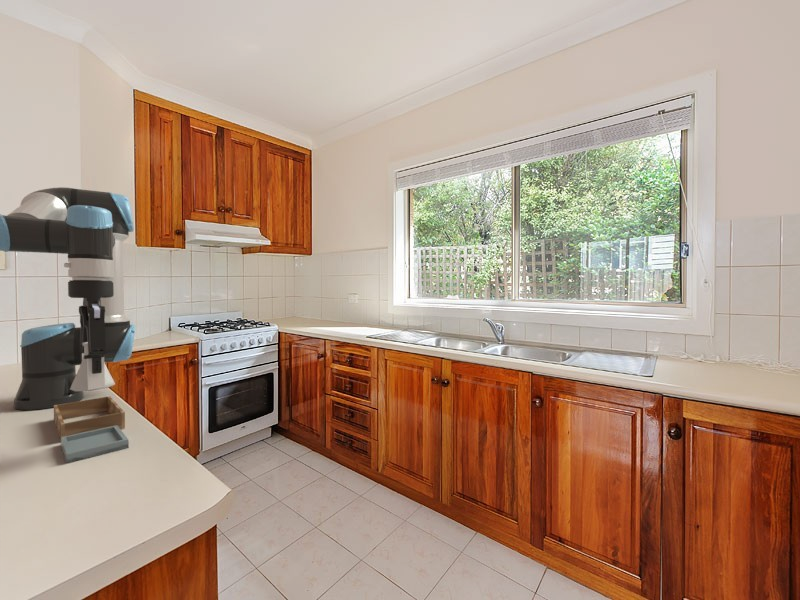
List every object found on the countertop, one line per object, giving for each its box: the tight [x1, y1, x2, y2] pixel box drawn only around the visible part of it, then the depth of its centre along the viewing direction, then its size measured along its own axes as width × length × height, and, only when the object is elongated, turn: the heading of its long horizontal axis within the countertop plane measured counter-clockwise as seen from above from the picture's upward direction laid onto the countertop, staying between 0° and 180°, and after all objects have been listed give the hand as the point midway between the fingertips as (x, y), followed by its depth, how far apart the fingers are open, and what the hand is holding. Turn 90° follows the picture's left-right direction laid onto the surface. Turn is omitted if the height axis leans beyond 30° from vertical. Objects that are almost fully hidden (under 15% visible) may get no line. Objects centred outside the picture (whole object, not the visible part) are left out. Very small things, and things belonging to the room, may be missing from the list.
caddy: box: [53, 395, 126, 440], centre depth 93 cm, size 19×12×4 cm, turn 47°
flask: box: [70, 342, 116, 392], centre depth 80 cm, size 7×7×10 cm
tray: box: [60, 425, 129, 464], centre depth 81 cm, size 12×10×2 cm
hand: (93, 384), depth 80 cm, fingers closed on flask, 7 cm apart
